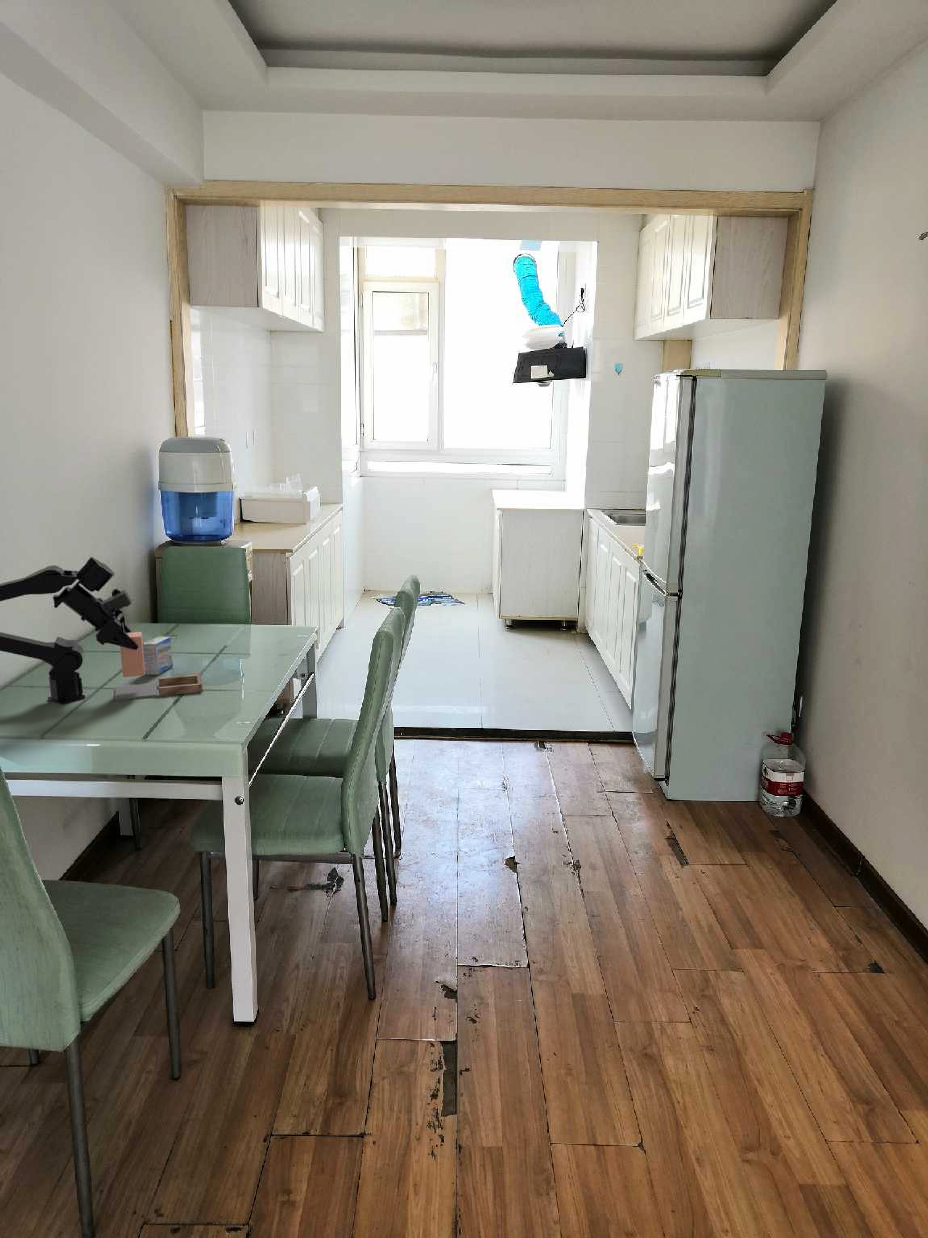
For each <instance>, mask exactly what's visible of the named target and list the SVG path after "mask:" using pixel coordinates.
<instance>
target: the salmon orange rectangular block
mask: <svg viewBox="0 0 928 1238" xmlns="http://www.w3.org/2000/svg"><path fill="white" fill-rule="evenodd" d="M127 634H128V635H129V636H130V638H131V639H132V640H133V641H134V642H135V643H136V644H137V645H138V649H137V650H133V649H130V648H126V647H122V646H119V648H120V657H121V670H122V677H123V678H128V677H129V678H130V677H131V678H132V677H143V676H145V674H144V673H145V667H144V654H143V633H142V631H136V632H135V631H132V632H131V633H127Z"/></svg>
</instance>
